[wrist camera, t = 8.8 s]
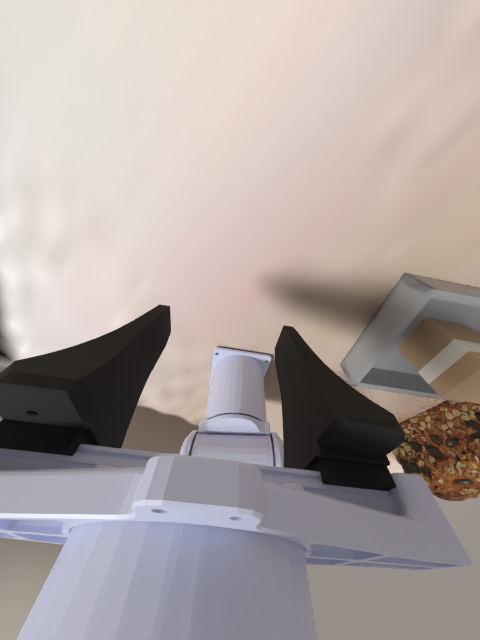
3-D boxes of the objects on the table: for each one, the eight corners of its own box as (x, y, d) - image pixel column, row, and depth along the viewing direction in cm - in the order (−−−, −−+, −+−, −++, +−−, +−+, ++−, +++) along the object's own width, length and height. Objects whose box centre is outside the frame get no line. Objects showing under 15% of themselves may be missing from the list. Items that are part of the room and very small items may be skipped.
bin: (442, 380, 29) (463, 402, 26) (340, 364, 28) (350, 385, 25) (542, 299, 21) (587, 318, 18) (404, 273, 20) (429, 288, 17)
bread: (413, 443, 41) (453, 508, 33) (378, 429, 38) (412, 496, 30) (524, 400, 31) (620, 476, 23) (488, 376, 29) (583, 454, 21)
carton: (432, 355, 26) (484, 404, 20) (397, 348, 26) (439, 397, 20) (466, 324, 23) (537, 373, 17) (426, 317, 23) (486, 363, 17)
